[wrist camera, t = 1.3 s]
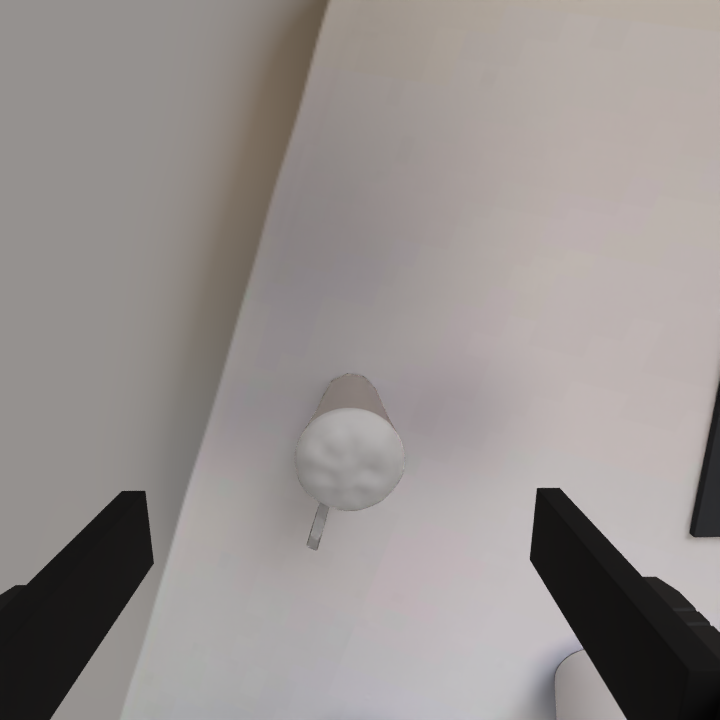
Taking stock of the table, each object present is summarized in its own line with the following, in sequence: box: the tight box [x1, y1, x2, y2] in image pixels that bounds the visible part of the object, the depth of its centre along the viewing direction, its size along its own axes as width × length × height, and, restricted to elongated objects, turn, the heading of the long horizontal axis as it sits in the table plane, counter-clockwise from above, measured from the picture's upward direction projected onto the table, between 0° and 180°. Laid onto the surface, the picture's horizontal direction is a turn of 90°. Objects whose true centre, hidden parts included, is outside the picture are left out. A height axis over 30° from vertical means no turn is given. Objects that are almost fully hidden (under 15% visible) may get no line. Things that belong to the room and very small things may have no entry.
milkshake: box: [295, 373, 405, 550], centre depth 21 cm, size 4×5×10 cm
